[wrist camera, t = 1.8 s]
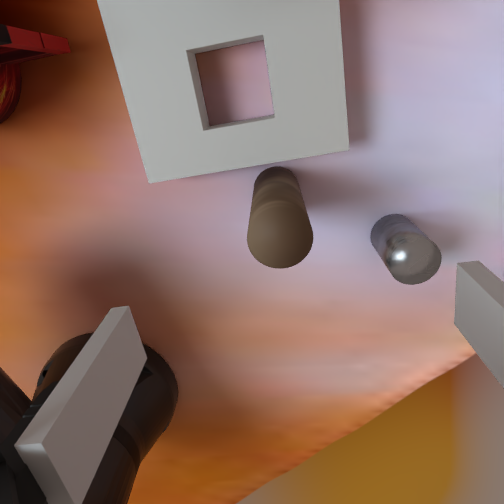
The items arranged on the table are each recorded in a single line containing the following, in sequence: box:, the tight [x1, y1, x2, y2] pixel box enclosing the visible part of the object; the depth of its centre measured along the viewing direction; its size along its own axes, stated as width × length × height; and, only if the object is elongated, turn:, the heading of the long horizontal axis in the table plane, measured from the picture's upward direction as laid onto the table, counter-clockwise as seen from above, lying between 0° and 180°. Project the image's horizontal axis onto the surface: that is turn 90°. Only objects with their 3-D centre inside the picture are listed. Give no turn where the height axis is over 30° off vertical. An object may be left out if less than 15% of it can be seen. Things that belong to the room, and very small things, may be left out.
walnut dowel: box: [247, 167, 313, 268], centre depth 29 cm, size 4×4×12 cm
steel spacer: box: [370, 214, 441, 285], centre depth 33 cm, size 4×4×6 cm
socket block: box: [97, 0, 349, 183], centre depth 21 cm, size 16×20×18 cm
